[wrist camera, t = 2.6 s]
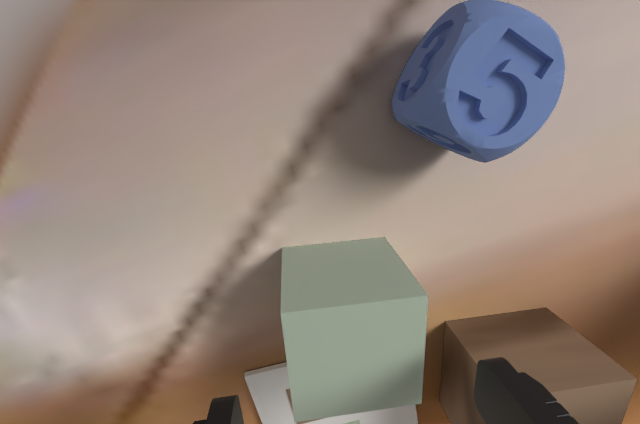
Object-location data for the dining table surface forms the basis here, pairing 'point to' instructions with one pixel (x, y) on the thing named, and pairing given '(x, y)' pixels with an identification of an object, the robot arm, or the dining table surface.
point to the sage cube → (351, 328)
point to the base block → (533, 365)
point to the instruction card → (278, 412)
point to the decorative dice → (481, 79)
